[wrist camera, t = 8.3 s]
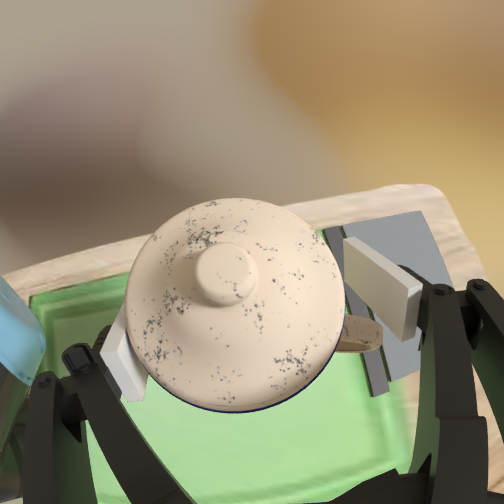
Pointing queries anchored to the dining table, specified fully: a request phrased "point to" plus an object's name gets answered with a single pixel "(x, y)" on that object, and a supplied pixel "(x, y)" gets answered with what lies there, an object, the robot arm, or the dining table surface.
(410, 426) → the dining table surface
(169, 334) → the teacup with lid
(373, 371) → the black line strip
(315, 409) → the dining table surface
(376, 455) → the dining table surface
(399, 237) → the slate mat
